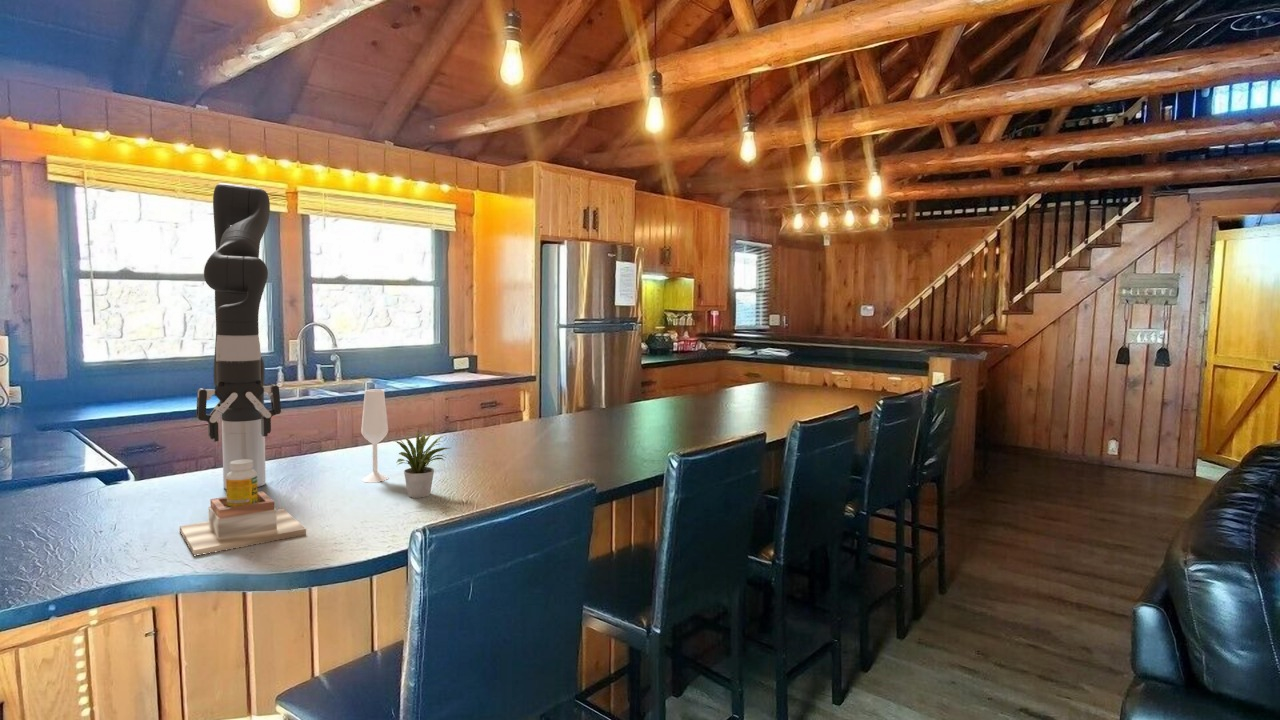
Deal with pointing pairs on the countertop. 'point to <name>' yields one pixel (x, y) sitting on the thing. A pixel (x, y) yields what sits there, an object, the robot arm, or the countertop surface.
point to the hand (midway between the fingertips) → (240, 438)
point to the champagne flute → (374, 426)
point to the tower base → (213, 544)
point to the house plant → (419, 466)
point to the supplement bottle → (241, 483)
